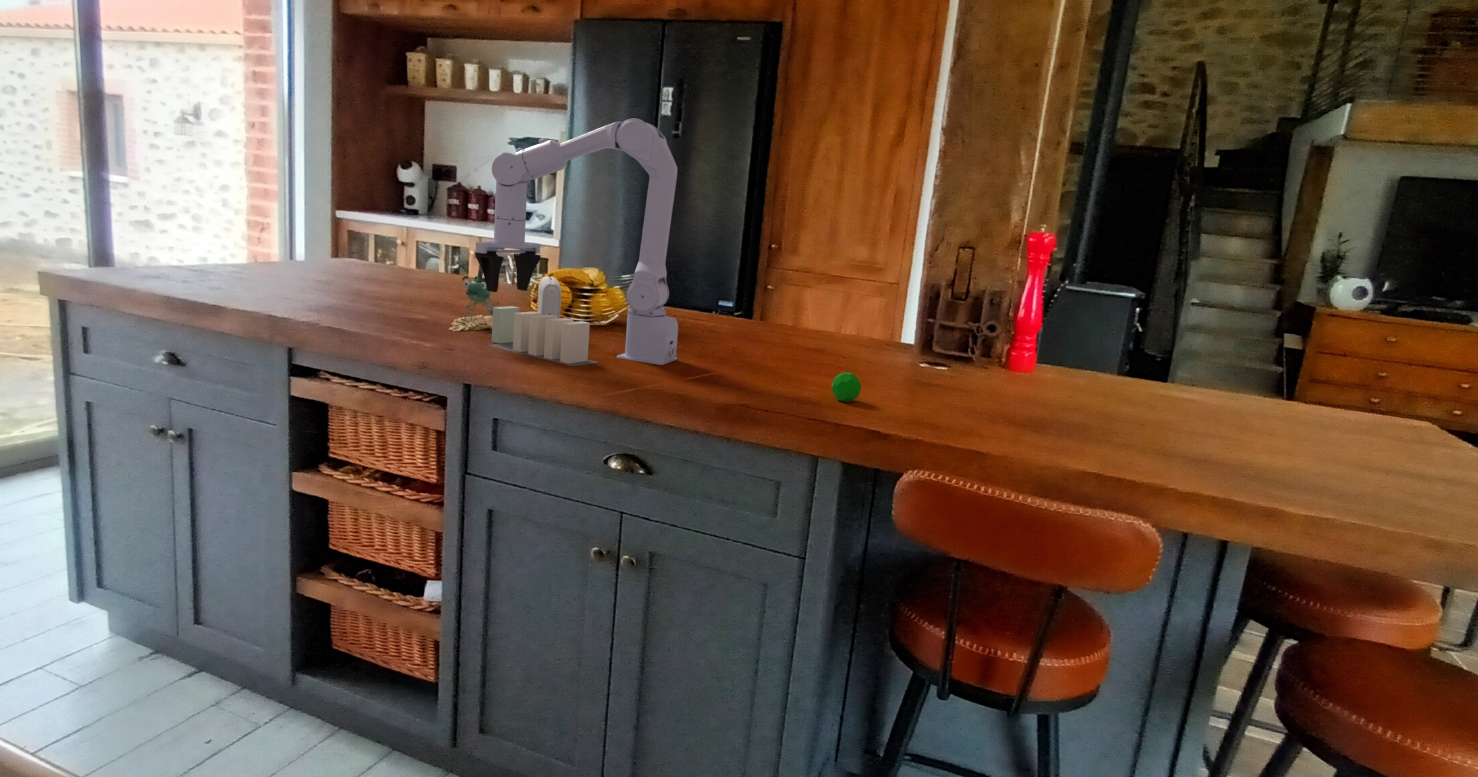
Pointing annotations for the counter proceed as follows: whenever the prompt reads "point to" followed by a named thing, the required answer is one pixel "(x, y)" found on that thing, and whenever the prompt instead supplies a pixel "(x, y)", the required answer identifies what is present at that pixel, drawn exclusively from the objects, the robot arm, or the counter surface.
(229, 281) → the counter surface
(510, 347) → the domino mat
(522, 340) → the domino
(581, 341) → the domino
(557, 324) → the domino
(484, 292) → the teal and tan figure
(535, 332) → the domino
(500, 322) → the pale green rectangular block
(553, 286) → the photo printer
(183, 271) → the counter surface
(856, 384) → the polyhedron
